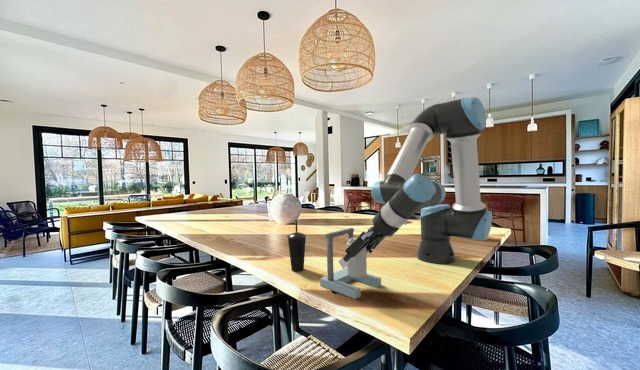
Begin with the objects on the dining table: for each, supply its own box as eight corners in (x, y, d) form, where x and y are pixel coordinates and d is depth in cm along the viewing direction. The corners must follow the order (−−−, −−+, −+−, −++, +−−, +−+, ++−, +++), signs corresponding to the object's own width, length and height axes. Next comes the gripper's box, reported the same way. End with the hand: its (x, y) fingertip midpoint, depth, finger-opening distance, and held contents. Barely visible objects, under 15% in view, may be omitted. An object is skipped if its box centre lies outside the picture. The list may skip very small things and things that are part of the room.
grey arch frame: (381, 285, 92) (380, 231, 91) (355, 299, 82) (354, 239, 81) (346, 274, 102) (345, 226, 102) (320, 285, 93) (318, 233, 92)
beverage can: (345, 272, 93) (344, 237, 92) (364, 271, 93) (363, 236, 93) (349, 279, 86) (348, 242, 86) (369, 278, 87) (368, 241, 86)
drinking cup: (310, 267, 111) (309, 218, 110) (301, 274, 104) (299, 221, 103) (294, 265, 114) (292, 217, 113) (284, 271, 107) (282, 220, 107)
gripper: (379, 234, 71) (335, 280, 84) (414, 224, 85) (371, 264, 97) (363, 212, 75) (322, 259, 87) (398, 206, 89) (358, 247, 101)
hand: (348, 262), depth 92 cm, fingers closed on beverage can, 6 cm apart
